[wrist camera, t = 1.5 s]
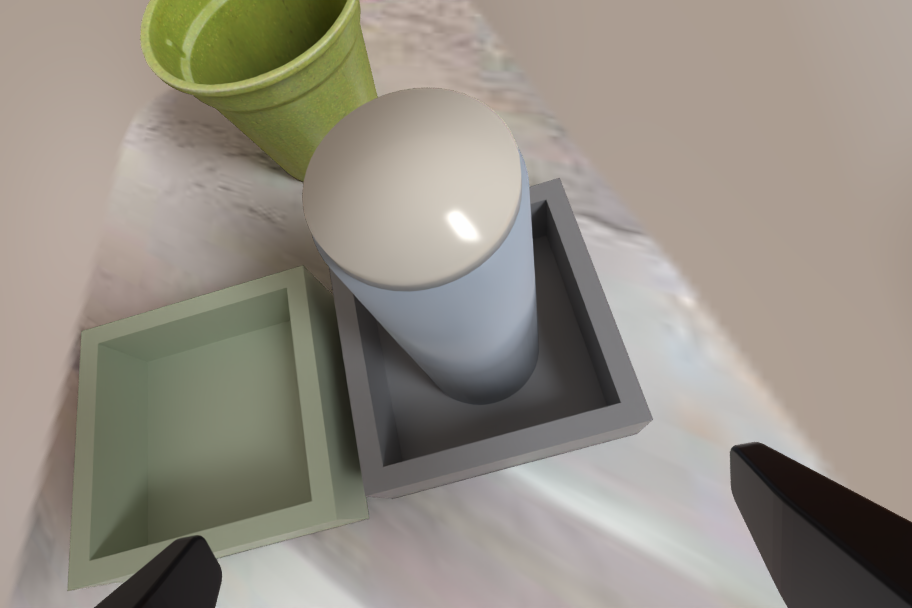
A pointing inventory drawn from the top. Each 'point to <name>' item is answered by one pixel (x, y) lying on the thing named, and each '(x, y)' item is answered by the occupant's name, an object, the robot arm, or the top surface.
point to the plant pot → (265, 66)
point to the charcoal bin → (515, 418)
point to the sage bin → (212, 428)
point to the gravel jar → (433, 235)
